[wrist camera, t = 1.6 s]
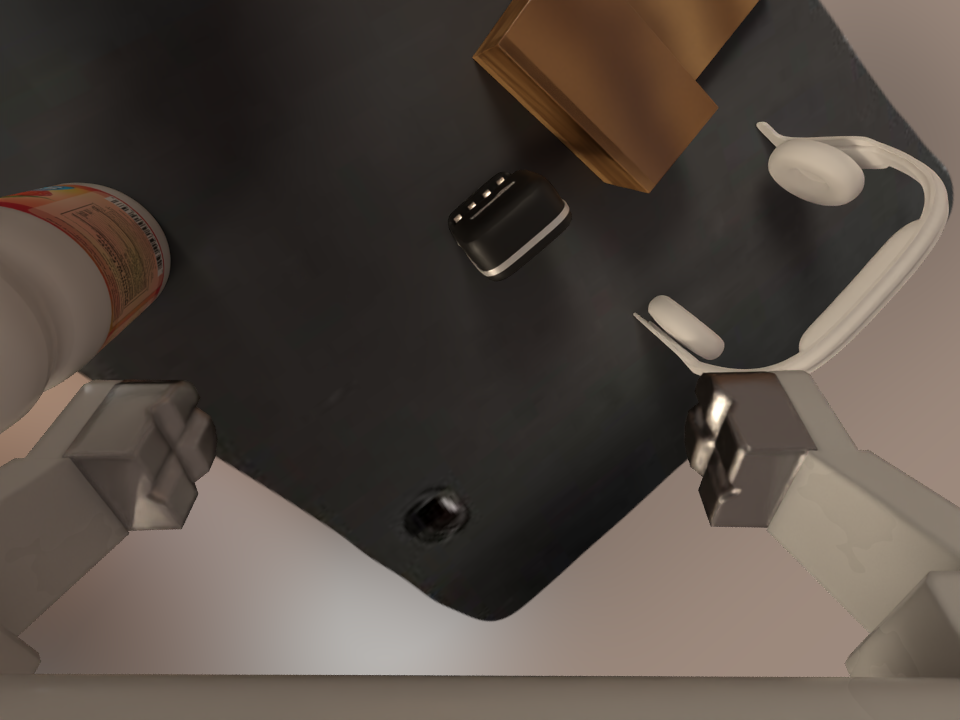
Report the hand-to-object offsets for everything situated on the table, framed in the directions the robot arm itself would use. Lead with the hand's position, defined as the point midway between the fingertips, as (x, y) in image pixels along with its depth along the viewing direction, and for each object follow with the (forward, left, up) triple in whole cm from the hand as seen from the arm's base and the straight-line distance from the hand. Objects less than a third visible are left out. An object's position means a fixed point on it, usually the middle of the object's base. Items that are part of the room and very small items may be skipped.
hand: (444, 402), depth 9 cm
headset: (+20, +21, -36) cm, 47 cm away
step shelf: (+1, +22, -36) cm, 42 cm away
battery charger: (+6, +6, -36) cm, 37 cm away
